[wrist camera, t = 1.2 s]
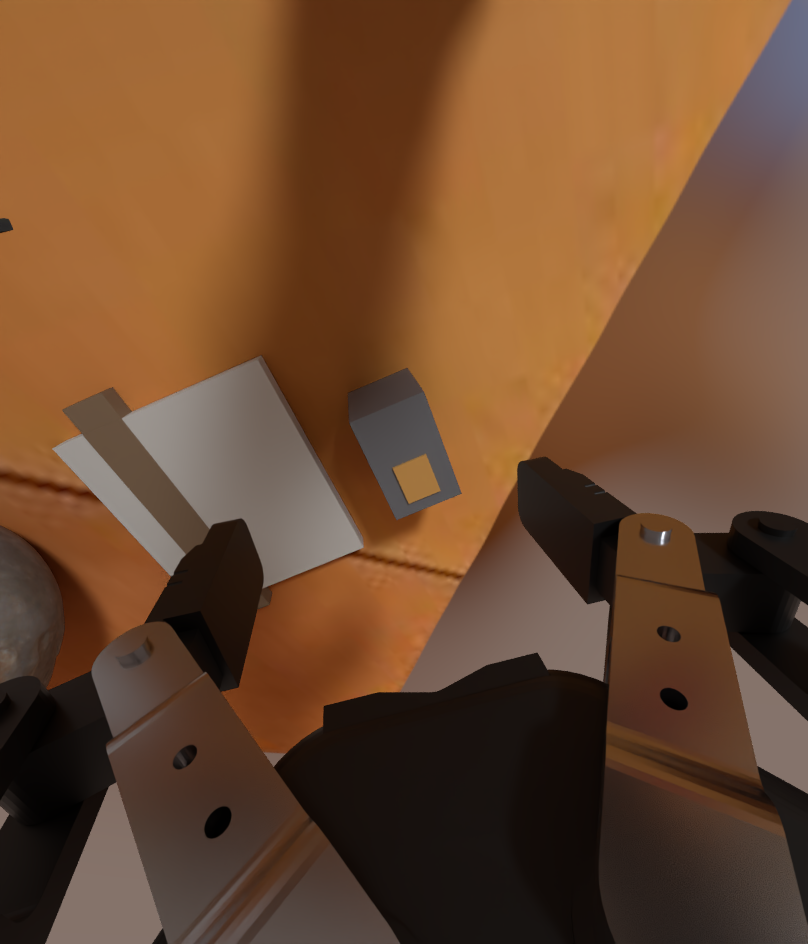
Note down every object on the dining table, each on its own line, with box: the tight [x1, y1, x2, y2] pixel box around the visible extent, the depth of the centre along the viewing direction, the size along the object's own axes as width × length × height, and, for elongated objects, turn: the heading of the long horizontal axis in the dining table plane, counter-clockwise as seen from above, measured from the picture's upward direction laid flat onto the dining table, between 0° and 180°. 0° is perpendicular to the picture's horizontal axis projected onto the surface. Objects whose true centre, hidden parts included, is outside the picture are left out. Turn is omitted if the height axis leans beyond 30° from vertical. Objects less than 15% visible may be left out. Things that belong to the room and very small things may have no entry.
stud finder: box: [348, 368, 462, 520], centre depth 29 cm, size 5×8×7 cm, turn 22°
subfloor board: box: [53, 356, 364, 609], centre depth 32 cm, size 16×22×2 cm
